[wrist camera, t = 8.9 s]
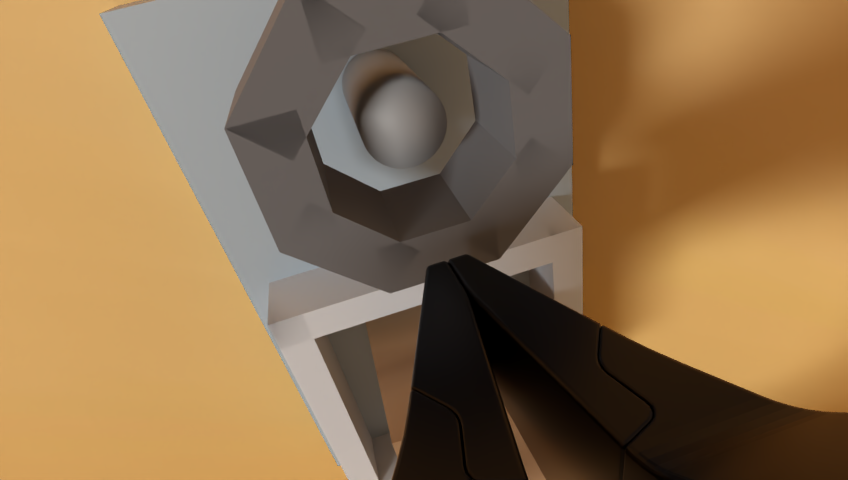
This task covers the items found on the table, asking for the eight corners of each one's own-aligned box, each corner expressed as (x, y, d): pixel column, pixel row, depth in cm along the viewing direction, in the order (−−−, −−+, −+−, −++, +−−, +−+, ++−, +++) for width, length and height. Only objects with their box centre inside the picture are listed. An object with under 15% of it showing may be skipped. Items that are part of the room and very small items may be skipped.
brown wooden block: (502, 376, 20) (566, 503, 16) (399, 411, 20) (434, 552, 15) (486, 264, 17) (561, 384, 12) (361, 303, 16) (391, 443, 12)
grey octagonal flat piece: (529, 189, 13) (574, 235, 11) (304, 257, 12) (309, 319, 10) (508, -82, 9) (568, -86, 7) (195, -6, 9) (170, 10, 7)
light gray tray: (559, 359, 23) (621, 451, 19) (334, 436, 22) (347, 552, 18) (539, -95, 13) (661, -112, 9) (118, 5, 12) (30, 42, 8)
